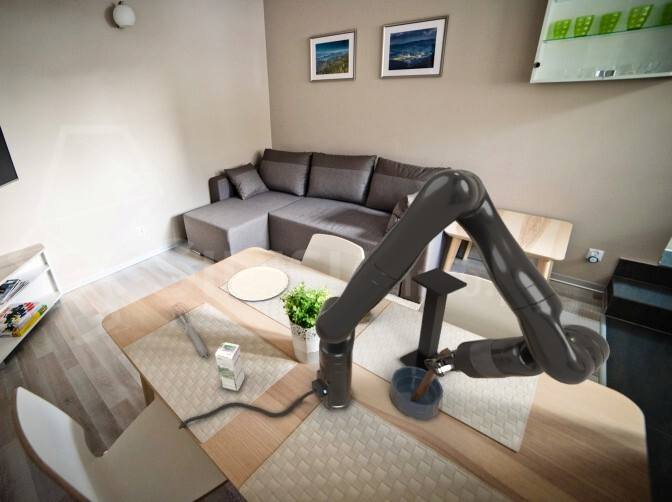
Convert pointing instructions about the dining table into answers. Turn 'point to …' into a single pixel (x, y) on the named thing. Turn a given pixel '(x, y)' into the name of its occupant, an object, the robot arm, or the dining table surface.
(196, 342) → the kitchen whisk
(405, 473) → the dining table surface
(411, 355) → the stand
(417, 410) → the bowl
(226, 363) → the syrup box
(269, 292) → the plate
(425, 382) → the stirring paddle
